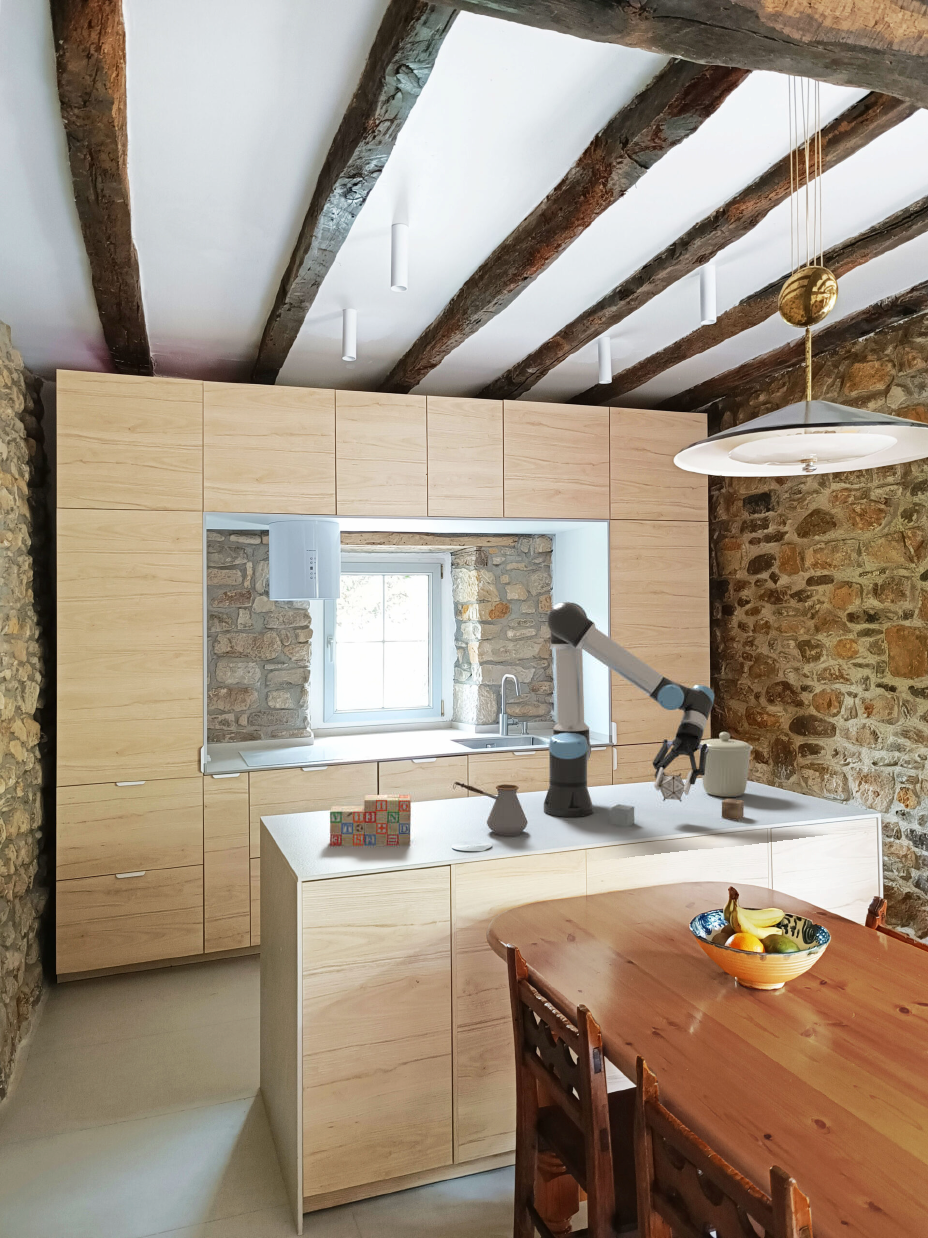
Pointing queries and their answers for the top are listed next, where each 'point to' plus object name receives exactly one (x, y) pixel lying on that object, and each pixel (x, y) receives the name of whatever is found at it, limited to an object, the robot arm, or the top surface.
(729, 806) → the walnut block
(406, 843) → the stack of blocks
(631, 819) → the light grey cube
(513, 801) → the coffee pot
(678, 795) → the game die
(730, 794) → the canister
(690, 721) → the robot arm
